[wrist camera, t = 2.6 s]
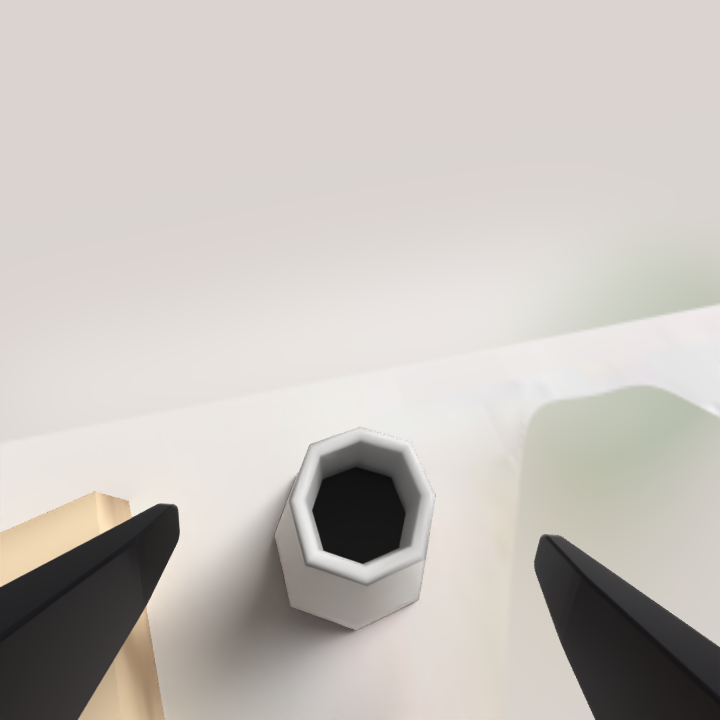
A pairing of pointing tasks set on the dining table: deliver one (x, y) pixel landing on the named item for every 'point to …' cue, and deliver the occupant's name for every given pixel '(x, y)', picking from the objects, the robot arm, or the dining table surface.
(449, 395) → the dining table surface
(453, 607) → the dining table surface
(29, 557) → the oak block
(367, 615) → the flask
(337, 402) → the dining table surface
